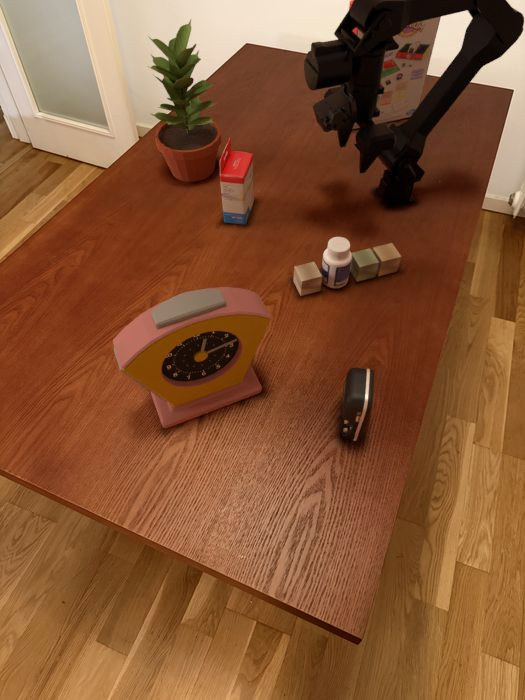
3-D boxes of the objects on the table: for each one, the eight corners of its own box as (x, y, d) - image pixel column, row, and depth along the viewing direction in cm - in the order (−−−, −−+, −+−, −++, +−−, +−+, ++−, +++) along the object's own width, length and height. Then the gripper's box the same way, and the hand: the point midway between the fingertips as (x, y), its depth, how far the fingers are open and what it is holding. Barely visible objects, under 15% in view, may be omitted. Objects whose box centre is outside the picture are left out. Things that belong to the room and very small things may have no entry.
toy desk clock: (147, 436, 77) (112, 356, 59) (131, 389, 82) (95, 302, 64) (277, 387, 82) (280, 300, 64) (255, 345, 87) (252, 254, 69)
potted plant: (148, 181, 114) (116, 38, 90) (179, 145, 123) (157, 5, 98) (207, 196, 111) (190, 52, 87) (235, 158, 119) (226, 17, 95)
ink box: (246, 226, 105) (243, 164, 93) (223, 223, 106) (217, 161, 94) (254, 200, 110) (252, 138, 98) (232, 198, 111) (228, 136, 99)
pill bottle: (350, 272, 97) (357, 237, 90) (344, 291, 94) (350, 257, 87) (324, 266, 98) (328, 231, 91) (317, 285, 95) (321, 250, 88)
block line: (387, 258, 99) (392, 242, 96) (397, 271, 97) (401, 256, 94) (293, 281, 96) (294, 266, 93) (300, 296, 94) (301, 281, 90)
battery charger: (339, 400, 80) (348, 360, 71) (362, 404, 80) (375, 364, 71) (335, 440, 76) (344, 402, 67) (360, 444, 76) (372, 407, 67)
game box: (407, 106, 132) (435, -14, 110) (417, 117, 129) (448, -5, 107) (335, 120, 129) (349, -2, 107) (343, 132, 126) (360, 8, 103)
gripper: (300, 61, 90) (296, 142, 102) (343, 114, 79) (333, 196, 92) (357, 51, 92) (346, 131, 104) (406, 101, 81) (388, 183, 94)
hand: (352, 159), depth 99 cm, fingers open, 9 cm apart
